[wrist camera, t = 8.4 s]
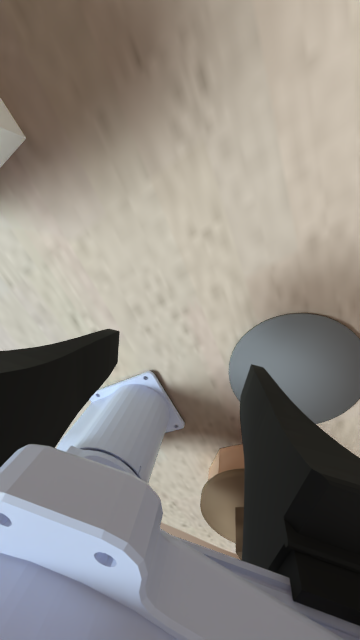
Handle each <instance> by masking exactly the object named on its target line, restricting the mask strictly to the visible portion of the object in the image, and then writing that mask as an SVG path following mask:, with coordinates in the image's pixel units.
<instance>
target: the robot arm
mask: <svg viewBox="0 0 360 640" xmlns="http://www.w3.org/2000/svg"><path fill="white" fill-rule="evenodd" d="M118 346H119V331H116V330H112V329H106V330H101V331H98V332H95V333H91V334H88V335H85V336H81V337H78V338H74V339H70V340H67V341H63V342H59V343H55V344H50V345H45V346H40V347H34V348H26V349H18V350H9V351H0V640H360V458H359V457H357V456H356V455H354V454H353V453H351V452H350V451H349V450H347V449H346V448H345V447H343V446H342V445H340V444H339V443H338V442H337V441H335V440H334V439H333V438H332V437H330V436H329V435H328V434H327V433H325V432H324V431H323V430H322V429H320V428H319V427H318V426H317V425H316V424H315V423H314V422H313V421H311V420H310V419H309V418H308V417H307V416H306V415H305V414H304V413H303V412H302V411H301V410H300V409H299V408H298V407H297V406H296V405H295V404H294V403H293V402H292V401H291V400H290V399H289V397H288V396H287V395H286V394H285V393H284V392H283V390H282V389H281V388H280V387H279V386H278V384H277V383H276V382H275V381H274V379H273V378H272V377H271V376H270V374H269V373H268V372H267V371H266V370H265V369H264V367H260V366H256V365H252V364H251V366H250V369H249V372H248V375H247V378H246V381H245V384H244V387H243V390H242V393H241V397H240V421H241V432H242V442H243V452H244V521H243V546H242V560H239V559H236V558H233V557H231V556H228V555H225V554H222V553H219V552H216V551H214V550H211V549H208V548H206V547H203V546H200V545H198V544H195V543H192V542H189V541H186V540H184V539H181V538H178V537H175V536H172V535H170V534H169V533H167V532H165V531H164V530H162V529H160V524H161V519H162V515H163V511H162V506H161V501H160V498H159V496H158V495H157V493H156V492H155V491H154V490H153V489H152V488H151V487H150V486H149V484H148V483H149V479H150V476H151V473H152V470H153V467H154V464H155V461H156V458H157V455H158V452H159V449H160V446H161V443H162V440H163V437H164V434H165V433H167V432H171V431H174V430H178V429H182V428H184V425H185V423H184V421H183V420H182V418H181V416H180V415H179V413H178V412H177V410H176V408H175V407H174V405H173V403H172V402H171V400H170V399H169V397H168V395H167V394H166V392H165V390H164V389H163V387H162V386H161V384H160V382H159V381H158V379H157V377H156V376H155V374H154V373H153V372H152V371H147V372H145V373H142V374H139V375H137V376H134V377H131V378H129V379H126V380H123V381H121V382H118V383H115V384H113V385H110V386H107V387H105V388H102V389H99V388H100V386H101V385H102V384H103V383H104V382H105V380H106V379H107V378H108V377H109V375H110V374H111V372H112V371H113V369H114V367H115V366H116V364H117V362H118ZM145 376H147V377H148V378H146V377H145ZM98 389H99V390H98ZM89 399H90V401H91V402H92V403H91V404H90V405H89V406H88V408H87V409H86V410H85V411H84V413H83V414H82V415H81V416H80V417H79V419H78V420H77V421H76V422H75V424H74V425H73V426H72V427H71V428H70V430H69V431H68V432H67V433H66V434H65V436H64V437H63V438H62V440H61V441H60V443H59V444H58V446H57V449H56V448H55V446H56V445H57V443H58V442H59V440H60V439H61V437H62V436H63V434H64V433H65V431H66V430H67V428H68V427H69V425H70V424H71V422H72V421H73V419H74V418H75V417H76V415H77V414H78V412H79V411H80V410H81V409H82V407H83V406H84V405H85V404H86V403H87V402H88V400H89ZM176 425H177V426H176Z"/></svg>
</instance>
